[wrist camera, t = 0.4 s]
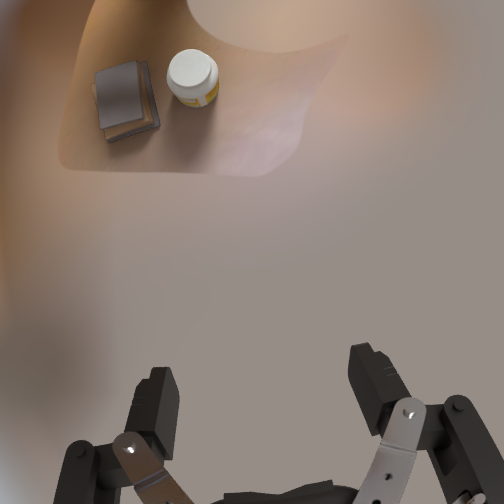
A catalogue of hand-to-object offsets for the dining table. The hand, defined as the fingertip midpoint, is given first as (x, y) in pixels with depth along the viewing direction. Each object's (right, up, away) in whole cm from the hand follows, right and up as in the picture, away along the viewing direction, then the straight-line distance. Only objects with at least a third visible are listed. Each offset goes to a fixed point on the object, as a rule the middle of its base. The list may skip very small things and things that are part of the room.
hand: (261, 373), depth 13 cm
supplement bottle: (-7, +25, +21) cm, 34 cm away
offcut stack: (-16, +24, +20) cm, 35 cm away
